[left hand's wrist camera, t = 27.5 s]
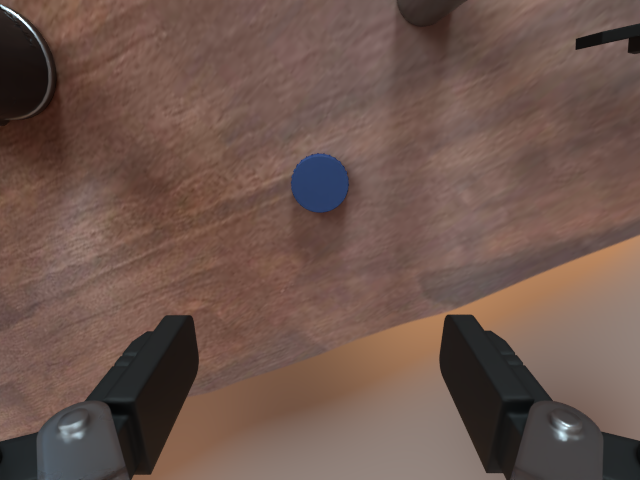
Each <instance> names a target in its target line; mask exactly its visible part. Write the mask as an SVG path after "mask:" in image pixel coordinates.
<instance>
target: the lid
mask: <svg viewBox="0 0 640 480" xmlns="http://www.w3.org/2000/svg"><path fill="white" fill-rule="evenodd" d="M293 172H294V174H293V175H292V177H291V178H292V181H291V186H292V188H291V189H292V192H293V195H294V197H295V199H296V200H297V202H298V203H299V204H300V205H301V206H302V207H304V208H305V209H307V210H309V211H312V212H320V213H321V212H327V211H330V210H333V209H335V208H336V207H337V206H339V205H340V204H341V203H342V202H343V200H344V199H345V197H346V194H347V192H348V186H349V184H348V180H349V179H348V177H347V172H346V171H345V169H344V166H342V164H341V162H340V161H338V160H337V159H336V158H334V157H332V156H330V155H326V154H325V153H323V154H319V153H317V154H314V155H313V154H311V156H308V157H307V156H306V158H305V159H303V160H301V162H300V163H299V164H297V166H296V169H294V171H293Z"/></svg>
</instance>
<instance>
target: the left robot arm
mask: <svg viewBox="0 0 640 480" xmlns="http://www.w3.org/2000/svg"><path fill="white" fill-rule="evenodd" d="M55 87H56V68H55V63H54V60H53V56H52V54H51V51H50V49H49V47H48V45H47V43H46V41H45V40H44V38H43V37H42V35H41V34H40V32H39V31H38V30H37V29H36V28H35V27H34V25H33V24H32V23H31V22H29V21H28V20H27V19H26V18H25V17H23V16H22V15H21V14H19V13H18V12H16V11H14V10H13V9H11V8H8V7H6V6H4V5H1V4H0V126H4V125H6V124H7V123H8V122H9V121H10V120H18V119H26V118H30V117H33V116H35V115H37V114H39V113H40V112H41V111H43V110H44V109H45V108H46V107H47V105H48V104H49V103H50V101H51V99H52V97H53V95H54V91H55ZM439 361H440V369H441V373H442V376H443V379H444V381H445V383H446V385H447V387H448V390H449V392H450V394H451V396H452V398H453V401H454V403H455V405H456V407H457V409H458V411H459V414H460V416H461V418H462V420H463V423H464V425H465V427H466V429H467V431H468V433H469V436H470V438H471V440H472V442H473V445H474V447H475V449H476V451H477V453H478V455H479V458H480V460H481V462H482V464H483V467H484V469H485V471H486V473H503V474H504V476H505V478H506V480H640V441H638V440H634V439H630V438H626V437H621V436H617V435H613V434H609V433H605V432H601V431H600V429H599V428H598V426H597V425H596V424H595V423H594V422H593V421H592V420H591V419H590V418H589V417H588V416H586V415H585V414H583V413H582V412H580V411H579V410H577V409H575V408H573V407H571V406H569V405H566V404H563V403H560V402H555V401H553V400H552V399H551V398H550V396H549V395H548V394H547V393H546V391H545V390H544V389H543V388H542V386H541V385H540V384H539V383H538V381H537V380H536V379H535V377H534V376H533V375H532V374H531V372H530V371H529V370H528V369H527V367H526V366H524V365H523V362H522V361H521V360H520V359H519V357H518V356H517V355H515V352H514V351H513V350H512V348H511V347H510V346H509V345H508V343H507V342H506V341H505V340H503V339H502V338H500V337H499V336H498V335H496V334H495V333H493V332H492V331H484V329H483V328H482V327H481V325H480V324H479V323H478V321H477V320H476V319H475V317H474V316H473V315H447V316H446V317H445V321H444V327H443V334H442V342H441V349H440V358H439ZM198 364H199V356H198V348H197V341H196V334H195V327H194V321H193V318H192V316H191V315H166V316H165V317H164V318H163V319H162V320H161V322H160V323H159V324H158V326H157V327H156V329H155V330H154V331H147V332H146V333H144V334H143V335H141V336H140V337H138V338H137V339H135V340H134V341H132V343H131V344H130V345H129V346H128V348H127V349H126V350H125V351H124V353H123V355H122V356H120V358H119V359H118V360H117V361H116V363H115V365H114V366H112V368H111V369H110V370H109V371H108V373H107V374H106V375H105V376H104V378H103V379H102V380H101V381H100V383H99V384H98V385H97V386H96V388H95V389H94V390H93V391H92V393H91V394H90V395H89V396H88V398H87V399H86V400H85V401H84V402H80V403H77V404H74V405H71V406H69V407H67V408H65V409H63V410H61V411H60V412H58V413H56V414H55V415H54V416H52V417H51V418H50V419H49V420H48V421H47V422H46V423H45V424H44V425H43V426H42V427H41V429H40V431H39V432H37V433H33V434H29V435H25V436H21V437H17V438H13V439H9V440H5V441H1V442H0V480H131V479H132V477H133V475H150V474H151V473H152V471H153V469H154V466H155V464H156V462H157V460H158V458H159V456H160V453H161V451H162V449H163V447H164V445H165V443H166V440H167V438H168V436H169V434H170V432H171V430H172V427H173V425H174V423H175V421H176V419H177V416H178V414H179V412H180V410H181V408H182V406H183V403H184V401H185V399H186V397H187V395H188V393H189V390H190V388H191V386H192V384H193V382H194V380H195V377H196V375H197V371H198Z"/></svg>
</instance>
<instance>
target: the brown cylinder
mask: <svg viewBox="0 0 640 480" xmlns="http://www.w3.org/2000/svg"><path fill="white" fill-rule="evenodd" d="M466 1H467V0H397V3H398V7H399V10H400V12H401V14H402V15H403V17H404V18H405V19H406V20H407V21H408V22H410V23H411V24H413V25H416V26H430V25H432V24H435V23H436V22H438V21H439V20H441V19H442V18H444V17H445V16H446V15H448V14H449V13H450V12H452V11H453V10H455V9H456V8H457V7H459V6H460V5H462V4H463V3H464V2H466Z"/></svg>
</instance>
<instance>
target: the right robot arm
mask: <svg viewBox="0 0 640 480" xmlns="http://www.w3.org/2000/svg"><path fill="white" fill-rule="evenodd" d="M628 38H629V43H628V53H632V54H638V53H640V24H635V25H631V26H626V27H622V28H617V29H613V30H608V31H604V32H600V33H596V34H592V35H588V36H585V37H581V38H577V39H576V50H577V49H582V48H586V47H591V46H596V45H600V44H605V43H609V42H614V41H618V40H623V39H628Z"/></svg>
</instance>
